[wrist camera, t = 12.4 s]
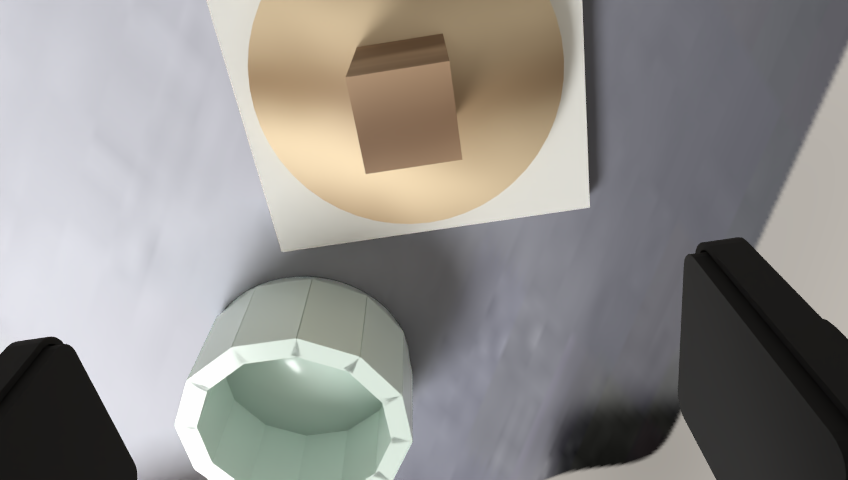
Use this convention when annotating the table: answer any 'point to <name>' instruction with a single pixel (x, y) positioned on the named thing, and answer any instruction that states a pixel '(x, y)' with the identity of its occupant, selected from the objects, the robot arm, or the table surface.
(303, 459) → the bowl
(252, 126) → the mat
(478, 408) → the table surface
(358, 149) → the lid
